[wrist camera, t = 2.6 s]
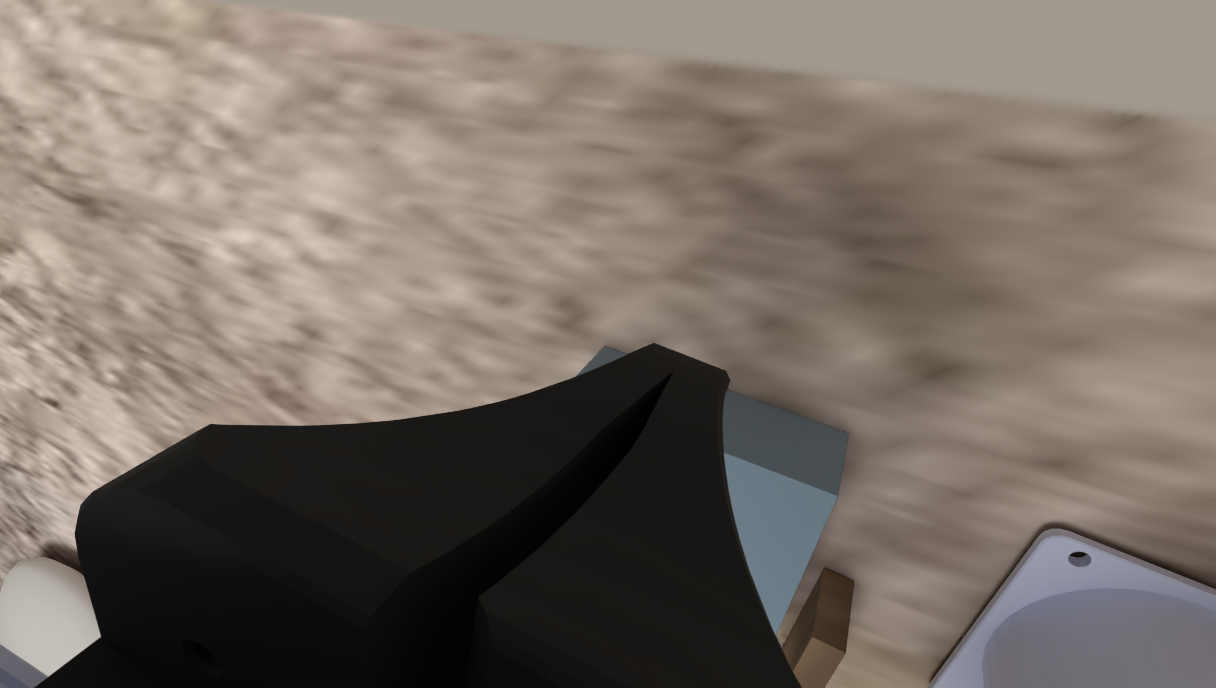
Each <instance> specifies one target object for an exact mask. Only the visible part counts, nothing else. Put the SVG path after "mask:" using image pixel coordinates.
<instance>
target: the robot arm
mask: <svg viewBox="0 0 1216 688" xmlns="http://www.w3.org/2000/svg"><path fill="white" fill-rule="evenodd" d="M729 383H730V378H729V376H728V374H727V372H726V371H725V370H722V369H720V368H717V367H715V366H712V365H709V364H707V363H704V362H702V361H699V360H696V359H694V358H691V357H689V356H686V355H684V354H681V353H678V352H676V351H673V350H671V349H668V348H666V347H663V346H660V345H658V344H655V343H653V344H650V345H648V346H645V347H643V348H641V349H638V350H636V351H634V352H631V353H629V354H627V355H625V356H623V357H620V358H618V359H616V360H614V361H611V362H609V363H607V364H605V365H602V366H600V367H598V368H595V369H593V370H591V371H588V372H586V373H583V374H581V375H578V376H576V377H574V378H571V379H569V380H566V381H563V382H560V383H557V384H554V385H551V386H548V387H546V388H543V389H540V390H537V391H534V392H531V393H528V394H525V395H522V396H518V397H515V398H511V399H507V400H504V401H500V402H496V403H491V404H487V405H483V406H478V407H474V408H470V409H465V410H460V411H454V412H447V413H441V414H434V415H427V416H421V417H414V418H407V419H400V420H392V421H381V422H369V423H357V424H338V425H314V426H270V425H218V424H210V425H208V426H206V427H204V428H202V429H200V430H199V431H197V432H195V433H193V434H192V435H190V436H188V437H186V438H185V439H183V440H181V441H179V442H178V443H176V444H174V445H173V446H171V447H169V448H167V449H166V450H164V451H162V452H160V453H159V454H157V455H155V456H154V457H152V458H150V459H148V460H147V461H145V462H143V463H141V464H140V465H138V466H136V467H135V468H133V469H131V470H129V471H128V472H126V473H124V474H122V475H121V476H119V477H117V478H116V479H114V480H112V481H110V482H109V483H107V484H105V485H103V486H102V487H100V488H98V489H97V490H95V491H93V492H92V493H91V494H90V495H89V496H88V497H87V498H86V500H85V501H84V502H83V503H82V504H81V506H80V510H79V514H78V519H77V524H76V530H75V539H76V545H77V551H78V557H79V561H80V564H81V568H82V571H83V575H84V578H85V582H86V586H87V589H88V593H89V596H90V600H91V603H92V607H93V610H94V614H95V617H96V621H97V624H98V628H99V632H100V635H101V637H100V638H98V639H97V640H96V641H95V642H93V643H92V644H91V645H89V646H88V647H87V648H85V649H84V650H83V651H81V652H80V653H79V654H77V655H76V656H75V657H74V658H72V659H71V660H70V661H68V662H67V663H66V664H64V665H63V666H62V667H60V668H59V669H58V670H56V671H55V672H54V673H53V674H51V675H50V676H49V677H48V676H47V675H45V674H44V673H42V672H41V671H39V670H38V669H36V668H35V667H33V666H32V665H31V664H29V663H28V662H26V661H25V660H23V659H22V658H20V657H19V656H17V655H16V654H14V653H13V652H11V651H10V650H8V649H7V648H5V647H4V646H2V645H1V644H0V688H802V687H801V685H800V683H799V682H798V680H797V678H796V676H795V675H794V673H793V671H792V669H791V667H790V665H789V663H788V660H787V658H786V656H785V654H784V652H783V650H782V648H781V646H780V644H779V641H778V639H777V637H776V635H775V633H774V631H773V629H772V627H771V624H770V621H769V619H768V616H767V614H766V611H765V609H764V606H763V604H762V601H761V599H760V596H759V593H758V591H757V588H756V586H755V583H754V581H753V578H752V576H751V573H750V570H749V567H748V564H747V561H746V558H745V554H744V551H743V548H742V545H741V541H740V538H739V534H738V530H737V526H736V522H735V518H734V514H733V510H732V505H731V500H730V494H729V489H728V482H727V475H726V468H725V459H724V444H723V407H724V398H725V394H726V391H727V388H728V385H729ZM1078 551H1080V552H1085V553H1087V555H1085V556H1084V557H1079V558H1077V557H1072V556H1070V554H1071V553H1073V552H1078ZM928 688H1216V589H1214V588H1211V587H1209V586H1206V585H1204V584H1201V583H1199V582H1196V581H1194V580H1191V579H1188V578H1186V577H1183V576H1181V575H1178V574H1176V573H1173V572H1171V571H1168V570H1166V569H1163V568H1161V567H1158V566H1156V565H1153V564H1151V563H1148V562H1146V561H1143V560H1141V559H1138V558H1136V557H1133V556H1131V555H1128V554H1126V553H1123V552H1120V551H1118V550H1115V549H1113V548H1110V547H1108V546H1105V545H1103V544H1100V543H1098V542H1095V541H1093V540H1090V539H1088V538H1085V537H1083V536H1080V535H1078V534H1075V533H1073V532H1070V531H1068V530H1063V529H1049V530H1046V531H1044V532H1042V533H1041V534H1040V535H1039V536H1038V537H1037V539H1036V540H1035V541H1034V543H1033V544H1032V546H1031V547H1030V548H1029V550H1028V551H1027V552H1026V554H1025V555H1024V556H1023V558H1022V559H1021V560H1020V562H1019V563H1018V564H1017V566H1016V567H1015V569H1014V570H1013V571H1012V573H1011V574H1010V575H1009V577H1008V578H1007V579H1006V581H1005V582H1004V583H1003V585H1002V586H1001V587H1000V589H999V590H998V592H997V593H996V594H995V596H994V597H993V598H992V600H991V601H990V602H989V604H988V605H987V606H986V608H985V609H984V610H983V612H982V613H981V615H980V616H979V617H978V619H977V620H976V621H975V623H974V624H973V625H972V627H971V628H970V629H969V631H968V632H967V633H966V635H965V636H964V638H963V639H962V640H961V642H960V643H959V644H958V646H957V647H956V648H955V650H954V651H953V652H952V654H951V655H950V656H949V658H948V659H947V661H946V662H945V663H944V665H943V666H942V667H941V669H940V670H939V671H938V673H937V674H936V675H935V677H934V678H933V679H932V681H931V682H930V684H929V686H928Z"/></svg>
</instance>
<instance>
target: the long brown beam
mask: <svg viewBox="0 0 1216 688" xmlns="http://www.w3.org/2000/svg"><path fill="white" fill-rule="evenodd" d="M853 586H854V581H852V580H850V579H848V578H845V577H843V576H841V575H839V574H836V573H834V572H832V571H830V570H828V569H825V568H824V569H823V571H822V573H821V575H820V577H819V579H818V581H817V583H816V584H815V586H814V588H813V590H812V592H811V594H810V596H809V598H808V600H807V601H806V603H805V605H804V607H803V609H802V611H801V613H800V615H799V617H798V618H797V620H796V622H795V624H794V626H793V628H792V630H791V632H790V633H789V635H788V637H787V639H786V641H785V643H784V645H783V647H782V650H783V652H784V654H785V656H786V658H787V660H788V663H789V665H790V667H791V669H792V671H793V673H794V675H795V676H796V678H797V680H798V682H799V683H800V685H801V687H802V688H825V686H826V684H827V683H828V681H829V680H830V678H831V676H832V675H833V673H834V671H835V670H836V668H837V666H838V665H839V663H840V662H841V660H842V658H843V657H844V655H845V653H846V646H847V638H848V629H849V621H850V612H851V604H852V595H853Z"/></svg>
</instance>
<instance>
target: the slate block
mask: <svg viewBox="0 0 1216 688" xmlns="http://www.w3.org/2000/svg"><path fill="white" fill-rule="evenodd" d="M625 355H627V354H626V353H623V352H621V351H618V350H615V349H612V348H610V347H607V346H604V347H603V348H602V349H601V350H600V351H599V352H598V353H597V355H596V356H595V357H594V358H593V359H592V360H591V361H590V362H589V363H588V364H587V365H586V366H585V367H584V368H583V369H582V370H581V372H580V373H579V374H578V375H581V374H583V373H586V372H588V371H591V370H593V369H595V368H598V367H600V366H602V365H605V364H607V363H609V362H611V361H614V360H616V359H618V358H620V357H623V356H625ZM578 375H577V376H578ZM847 439H848V433H847V432H844V431H841V430H838V429H836V428H833V427H830V426H827V425H824V424H822V423H819V422H816V421H813V420H810V419H808V418H805V417H802V416H799V415H797V414H794V413H791V412H788V411H785V410H783V409H780V408H777V407H774V406H771V405H769V404H766V403H763V402H760V401H757V400H755V399H752V398H749V397H746V396H743V395H741V394H738V393H735V392H732V391H730V390H727V391H726V394H725V398H724V407H723V444H724V459H725V468H726V475H727V482H728V489H729V494H730V500H731V505H732V510H733V514H734V518H735V522H736V526H737V530H738V534H739V538H740V541H741V545H742V548H743V551H744V554H745V558H746V561H747V564H748V567H749V570H750V573H751V576H752V578H753V581H754V583H755V586H756V588H757V591H758V593H759V596H760V599H761V601H762V604H763V606H764V609H765V611H766V614H767V616H768V619H769V621H770V624H771V627H772V629H773V631H774V633H775V635H776V634H777V632H778V630H779V627H780V625H781V623H782V621H783V618H784V616H785V614H786V612H787V609H788V607H789V605H790V603H791V600H792V598H793V596H794V594H795V591H796V589H797V587H798V585H799V582H800V580H801V578H802V576H803V573H804V571H805V569H806V567H807V564H808V562H809V560H810V558H811V556H812V553H813V551H814V549H815V547H816V544H817V542H818V540H819V538H820V535H821V533H822V531H823V529H824V526H825V524H826V522H827V520H828V517H829V515H830V513H831V511H832V508H833V506H834V504H835V502H836V499H837V497H838V493H839V487H840V481H841V475H842V469H843V463H844V457H845V451H846V445H847Z"/></svg>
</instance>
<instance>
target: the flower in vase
mask: <svg viewBox="0 0 1216 688" xmlns="http://www.w3.org/2000/svg"><path fill="white" fill-rule="evenodd" d="M100 637H101V635H100V632H99V628H98V624H97V621H96V617H95V614H94V610H93V607H92V603H91V600H90V596H89V593H88V589H87V586H86V582H85V578H84V575H82V574H81V573H79V572H78V571H76V570H75V569H73V568H71V567H69V566H66V565H64V564H62V563H60V562H57V561H55V560H53V559H49V558H45V557H36V558H28V559H22V560H20V561H18V563H17V564H16V565H15V566H14V567H13V568H12V569H11V570H10V571H9V573H8V574H7V575H6V577H5V580H4V583H3V585H2V588H1V591H0V644H1V645H2V646H4V647H5V648H7V649H8V650H10V651H11V652H13V653H14V654H16V655H17V656H19V657H20V658H22V659H23V660H25V661H26V662H28V663H29V664H31V665H32V666H33V667H35V668H36V669H38V670H39V671H41V672H42V673H44V674H45V675H47V676H48V677H49V676H50V675H51V674H53V673H54V672H55V671H56V670H58V669H59V668H60V667H62V666H63V665H64V664H66V663H67V662H68V661H70V660H71V659H72V658H74V657H75V656H76V655H77V654H79V653H80V652H81V651H83V650H84V649H85V648H87V647H88V646H89V645H91V644H92V643H93V642H95V641H96V640H97V639H98V638H100Z"/></svg>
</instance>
